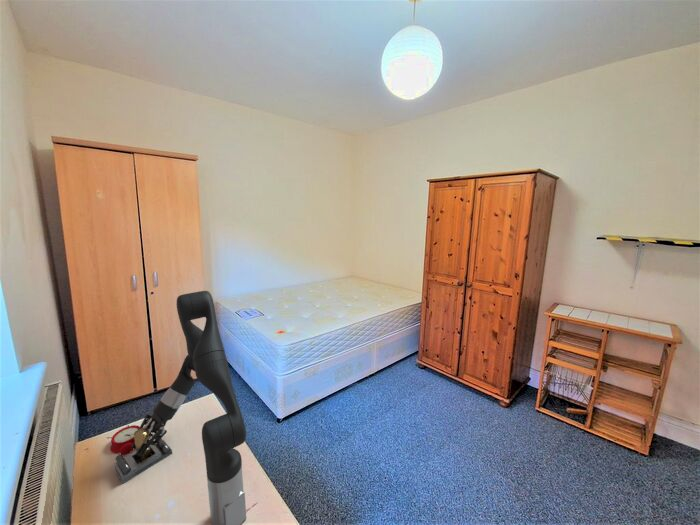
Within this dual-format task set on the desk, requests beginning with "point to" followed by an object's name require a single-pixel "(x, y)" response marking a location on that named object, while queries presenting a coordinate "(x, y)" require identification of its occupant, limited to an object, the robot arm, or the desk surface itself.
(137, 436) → the bronze pin
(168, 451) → the grey roller frame base
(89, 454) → the desk surface
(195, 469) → the desk surface
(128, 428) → the alarm clock
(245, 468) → the desk surface
